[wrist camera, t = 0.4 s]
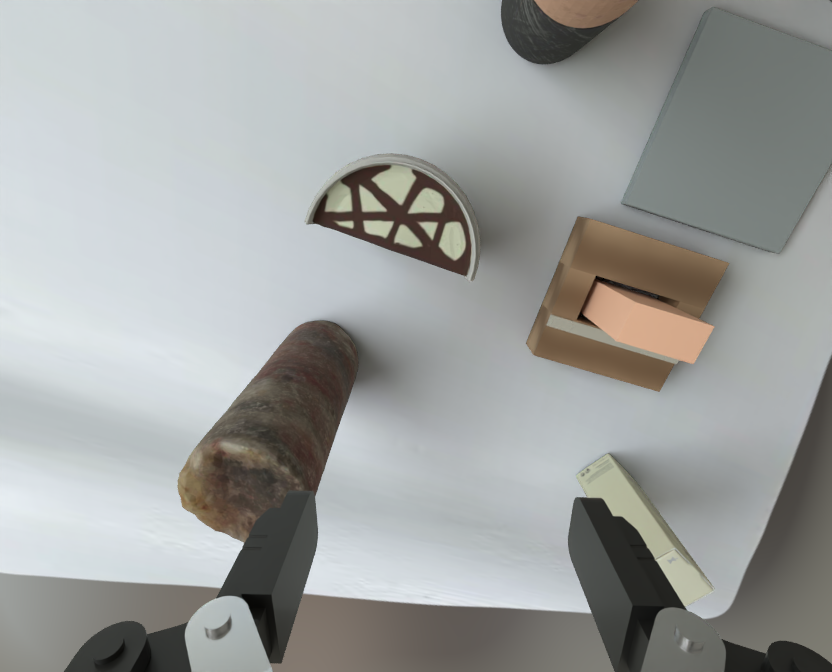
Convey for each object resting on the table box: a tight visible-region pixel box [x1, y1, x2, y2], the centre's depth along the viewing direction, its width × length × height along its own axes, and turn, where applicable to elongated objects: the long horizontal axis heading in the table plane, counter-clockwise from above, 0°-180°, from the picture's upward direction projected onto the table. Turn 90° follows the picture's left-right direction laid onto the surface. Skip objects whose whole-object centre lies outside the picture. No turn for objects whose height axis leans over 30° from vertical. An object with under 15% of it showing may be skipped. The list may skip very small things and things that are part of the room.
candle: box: [178, 321, 359, 543], centre depth 31 cm, size 8×7×20 cm
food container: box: [304, 153, 480, 282], centre depth 31 cm, size 12×6×10 cm, turn 71°
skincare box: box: [576, 454, 715, 607], centre depth 39 cm, size 6×4×12 cm
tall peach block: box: [580, 279, 715, 364], centre depth 34 cm, size 3×6×9 cm, turn 73°
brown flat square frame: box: [526, 217, 729, 392], centre depth 37 cm, size 12×12×3 cm
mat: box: [621, 7, 832, 254], centre depth 33 cm, size 14×14×1 cm
